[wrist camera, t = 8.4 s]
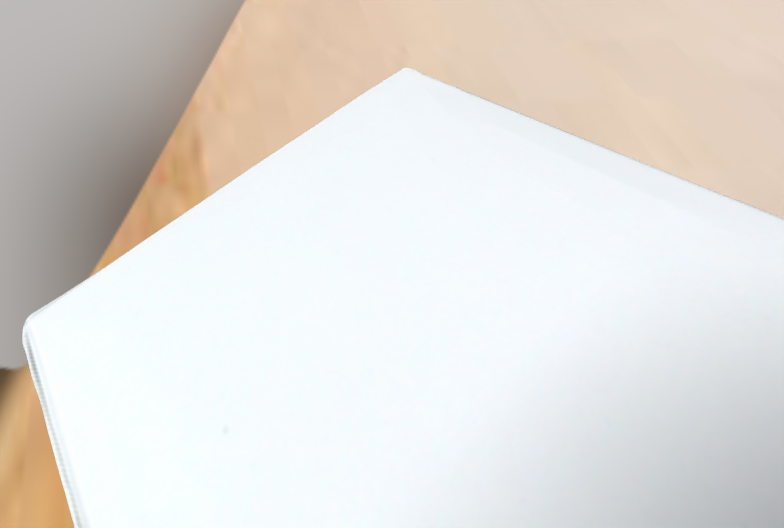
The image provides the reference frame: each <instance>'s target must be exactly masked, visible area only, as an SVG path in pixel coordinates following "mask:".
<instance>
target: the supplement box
mask: <svg viewBox="0 0 784 528" xmlns="http://www.w3.org/2000/svg"><path fill="white" fill-rule="evenodd" d="M22 340H23V346H24V349H25V351H26V355H27V359H28V363H29V367H30V371H31V375H32V378H33V381H34V384H35V387H36V390H37V393H38V396H39V399H40V402H41V405H42V409H43V413H44V417H45V421H46V425H47V429H48V433H49V437H50V440H51V444H52V448H53V451H54V455H55V459H56V462H57V466H58V470H59V473H60V477H61V480H62V484H63V487H64V491H65V494H66V498H67V501H68V505H69V508H70V512H71V515H72V519H73V523H74V526H75V528H784V219H783V218H781V217H778V216H776V215H773V214H771V213H769V212H766V211H764V210H761V209H759V208H756V207H753V206H751V205H748V204H746V203H743V202H740V201H738V200H735V199H733V198H730V197H728V196H725V195H722V194H720V193H717V192H715V191H712V190H710V189H707V188H705V187H702V186H700V185H697V184H695V183H692V182H690V181H687V180H685V179H683V178H680V177H678V176H675V175H673V174H670V173H668V172H665V171H663V170H660V169H658V168H655V167H653V166H650V165H648V164H645V163H643V162H640V161H638V160H635V159H633V158H630V157H628V156H625V155H623V154H620V153H618V152H615V151H613V150H610V149H608V148H605V147H603V146H600V145H598V144H595V143H593V142H590V141H588V140H586V139H583V138H581V137H578V136H576V135H573V134H571V133H568V132H566V131H563V130H561V129H558V128H556V127H553V126H551V125H548V124H546V123H543V122H541V121H538V120H536V119H533V118H531V117H528V116H526V115H523V114H521V113H518V112H516V111H513V110H511V109H508V108H506V107H503V106H501V105H498V104H496V103H493V102H491V101H488V100H486V99H484V98H481V97H479V96H476V95H474V94H471V93H469V92H466V91H464V90H461V89H459V88H457V87H454V86H452V85H449V84H447V83H445V82H442V81H440V80H437V79H435V78H433V77H430V76H428V75H425V74H423V73H420V72H418V71H416V70H413V69H411V68H403V69H401V70H400V71H398V72H396V73H395V74H393V75H392V76H390V77H388V78H387V79H385V80H384V81H382V82H381V83H379V84H378V85H376V86H374V87H373V88H371V89H370V90H368V91H366V92H365V93H363V94H362V95H360V96H359V97H357V98H356V99H354V100H353V101H351V102H350V103H348V104H347V105H345V106H344V107H342V108H341V109H339V110H338V111H336V112H335V113H333V114H332V115H330V116H329V117H327V118H326V119H324V120H323V121H321V122H320V123H319V124H317V125H316V126H314V127H313V128H311V129H309V130H308V131H306V132H305V133H303V134H302V135H300V136H299V137H297V138H296V139H294V140H293V141H291V142H289V143H288V144H286V145H285V146H283V147H282V148H280V149H279V150H277V151H276V152H274V153H273V154H271V155H270V156H268V157H267V158H265V159H264V160H262V161H261V162H259V163H258V164H256V165H255V166H253V167H252V168H250V169H249V170H247V171H246V172H244V173H243V174H241V175H240V176H238V177H237V178H236V179H234V180H233V181H231V182H230V183H228V184H227V185H225V186H224V187H222V188H221V189H220V190H218V191H217V192H215V193H214V194H212V195H211V196H209V197H208V198H206V199H205V200H203V201H202V202H200V203H199V204H198V205H196V206H195V207H193V208H192V209H190V210H189V211H187V212H186V213H184V214H183V215H181V216H180V217H178V218H177V219H175V220H174V221H172V222H171V223H169V224H168V225H167V226H165V227H164V228H162V229H161V230H159V231H158V232H156V233H155V234H153V235H152V236H150V237H149V238H147V239H146V240H144V241H143V242H141V243H140V244H139V245H137V246H136V247H134V248H133V249H131V250H130V251H128V252H127V253H125V254H124V255H122V256H121V257H120V258H118V259H117V260H115V261H114V262H112V263H111V264H109V265H108V266H106V267H105V268H103V269H102V270H100V271H99V272H97V273H96V274H94V275H93V276H91V277H90V278H88V279H86V280H85V281H83V282H82V283H80V284H79V285H77V286H76V287H74V288H72V289H71V290H69V291H68V292H66V293H65V294H63V295H62V296H60V297H58V298H57V299H55V300H54V301H52V302H50V303H49V304H47V305H46V306H44V307H42V308H40V309H39V310H37V311H36V312H34V313H32V314H31V315H30V316H29V317H28V318H27V319H26V321H25V324H24V327H23V334H22Z"/></svg>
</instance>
